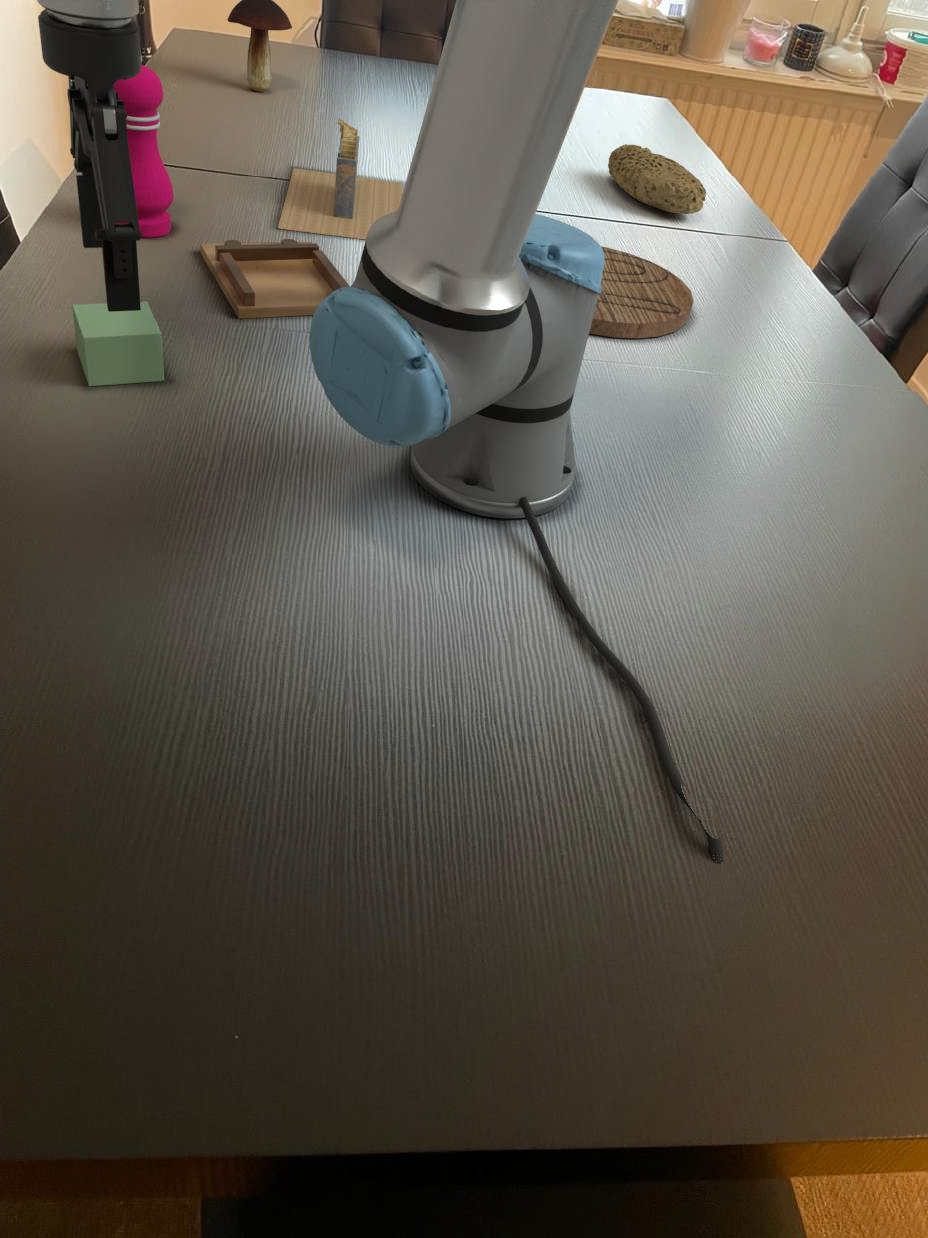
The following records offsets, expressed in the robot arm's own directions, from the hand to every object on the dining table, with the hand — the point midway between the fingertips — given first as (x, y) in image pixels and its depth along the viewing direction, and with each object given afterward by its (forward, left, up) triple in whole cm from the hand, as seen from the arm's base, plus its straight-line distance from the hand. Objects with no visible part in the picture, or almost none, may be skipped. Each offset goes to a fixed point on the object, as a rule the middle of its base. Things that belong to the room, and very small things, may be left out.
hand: (110, 276), depth 91 cm
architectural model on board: (+43, -38, -9) cm, 58 cm away
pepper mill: (+35, -9, -9) cm, 37 cm away
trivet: (+24, -66, -8) cm, 71 cm away
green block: (0, 0, -9) cm, 9 cm away
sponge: (+43, -91, -5) cm, 101 cm away
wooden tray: (+18, -21, -9) cm, 29 cm away
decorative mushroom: (+98, -41, -9) cm, 106 cm away
